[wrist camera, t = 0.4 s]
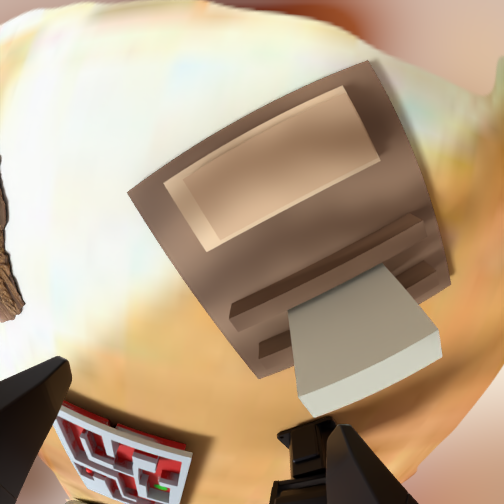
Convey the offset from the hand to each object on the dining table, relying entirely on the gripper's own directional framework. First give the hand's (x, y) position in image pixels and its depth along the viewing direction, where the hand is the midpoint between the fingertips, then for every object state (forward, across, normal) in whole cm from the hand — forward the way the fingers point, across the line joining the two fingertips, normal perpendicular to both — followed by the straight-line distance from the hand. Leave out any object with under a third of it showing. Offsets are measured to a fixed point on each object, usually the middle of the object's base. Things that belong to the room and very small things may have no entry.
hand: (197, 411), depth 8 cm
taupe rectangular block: (+12, -7, 0) cm, 14 cm away
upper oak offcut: (+11, -1, -7) cm, 13 cm away
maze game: (+15, +10, +41) cm, 45 cm away
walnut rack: (+13, -5, -3) cm, 14 cm away
